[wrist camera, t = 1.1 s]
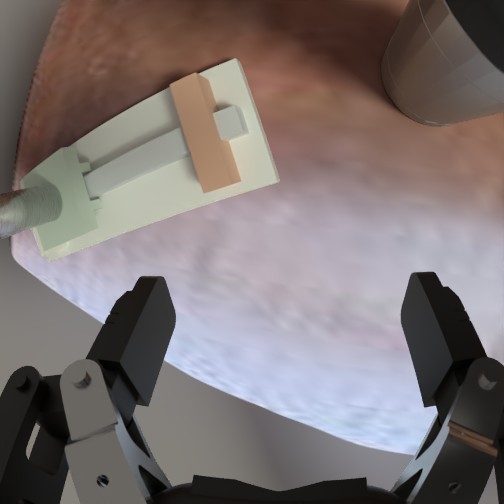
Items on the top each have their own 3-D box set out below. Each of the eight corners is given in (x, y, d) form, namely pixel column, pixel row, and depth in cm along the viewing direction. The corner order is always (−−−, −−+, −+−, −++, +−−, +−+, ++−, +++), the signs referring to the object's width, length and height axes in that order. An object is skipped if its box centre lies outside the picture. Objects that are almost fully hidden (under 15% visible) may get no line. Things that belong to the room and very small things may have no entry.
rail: (55, 259, 38) (33, 269, 34) (31, 179, 36) (7, 183, 31) (280, 181, 28) (271, 185, 24) (240, 62, 26) (225, 48, 22)
